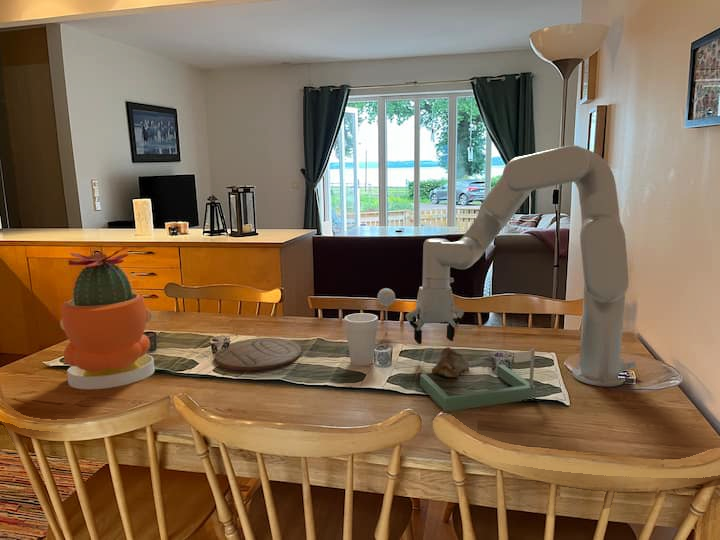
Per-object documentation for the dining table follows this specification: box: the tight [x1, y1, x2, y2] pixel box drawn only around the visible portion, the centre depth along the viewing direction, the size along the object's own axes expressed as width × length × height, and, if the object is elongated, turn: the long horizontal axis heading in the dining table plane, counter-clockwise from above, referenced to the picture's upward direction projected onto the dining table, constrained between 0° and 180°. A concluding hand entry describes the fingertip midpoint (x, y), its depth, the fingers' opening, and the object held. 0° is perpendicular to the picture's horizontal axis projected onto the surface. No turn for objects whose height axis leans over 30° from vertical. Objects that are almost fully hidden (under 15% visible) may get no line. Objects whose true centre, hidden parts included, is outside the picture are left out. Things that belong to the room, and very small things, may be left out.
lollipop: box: [376, 287, 396, 333], centre depth 180 cm, size 6×6×15 cm
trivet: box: [214, 337, 302, 373], centre depth 162 cm, size 25×25×2 cm
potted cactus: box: [59, 246, 155, 390], centre depth 143 cm, size 22×22×35 cm
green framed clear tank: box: [419, 348, 537, 412], centre depth 132 cm, size 23×16×12 cm
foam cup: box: [343, 312, 379, 367], centre depth 154 cm, size 10×9×13 cm
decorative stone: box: [431, 346, 469, 379], centre depth 147 cm, size 10×4×15 cm
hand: (434, 341), depth 156 cm, fingers open, 9 cm apart
